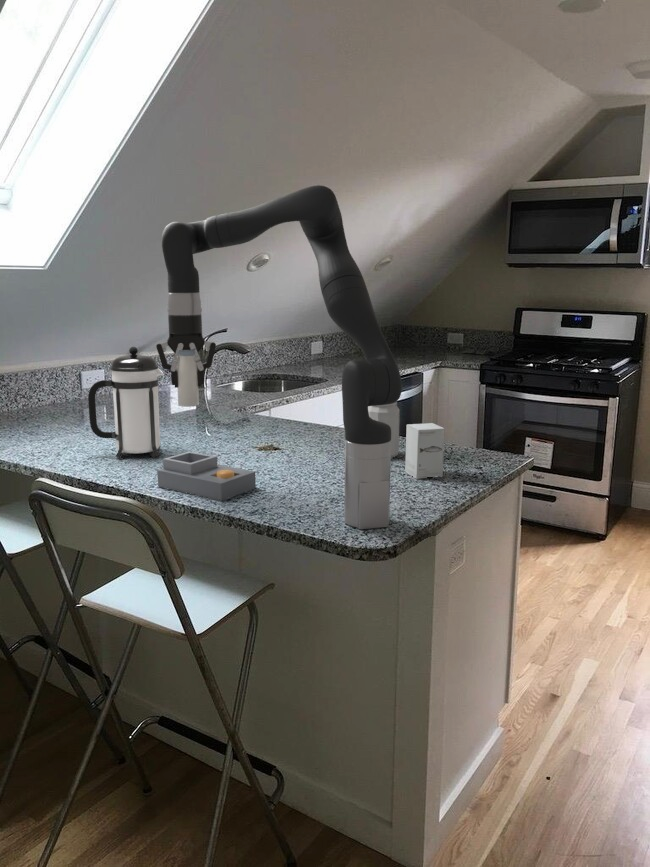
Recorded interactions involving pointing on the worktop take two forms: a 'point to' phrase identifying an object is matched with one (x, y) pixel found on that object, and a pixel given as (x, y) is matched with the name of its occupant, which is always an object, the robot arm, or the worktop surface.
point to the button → (225, 474)
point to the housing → (203, 476)
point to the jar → (388, 422)
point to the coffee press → (132, 404)
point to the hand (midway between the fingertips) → (187, 386)
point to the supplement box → (424, 450)
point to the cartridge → (187, 379)
